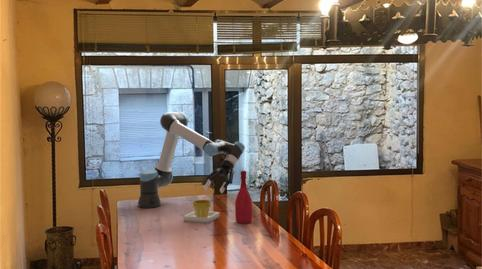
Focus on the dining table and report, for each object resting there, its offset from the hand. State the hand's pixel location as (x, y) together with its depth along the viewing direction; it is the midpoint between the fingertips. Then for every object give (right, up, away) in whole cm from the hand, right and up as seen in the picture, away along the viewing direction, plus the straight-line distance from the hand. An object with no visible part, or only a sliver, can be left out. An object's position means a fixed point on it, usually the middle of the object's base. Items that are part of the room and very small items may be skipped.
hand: (212, 190), depth 313 cm
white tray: (-6, -16, -6) cm, 18 cm away
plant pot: (-6, -16, -6) cm, 18 cm away
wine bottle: (+19, -17, -13) cm, 29 cm away
